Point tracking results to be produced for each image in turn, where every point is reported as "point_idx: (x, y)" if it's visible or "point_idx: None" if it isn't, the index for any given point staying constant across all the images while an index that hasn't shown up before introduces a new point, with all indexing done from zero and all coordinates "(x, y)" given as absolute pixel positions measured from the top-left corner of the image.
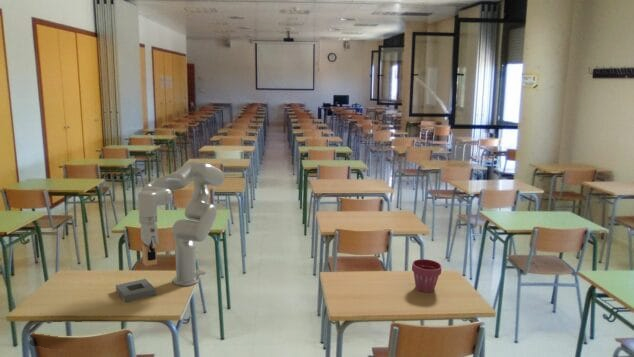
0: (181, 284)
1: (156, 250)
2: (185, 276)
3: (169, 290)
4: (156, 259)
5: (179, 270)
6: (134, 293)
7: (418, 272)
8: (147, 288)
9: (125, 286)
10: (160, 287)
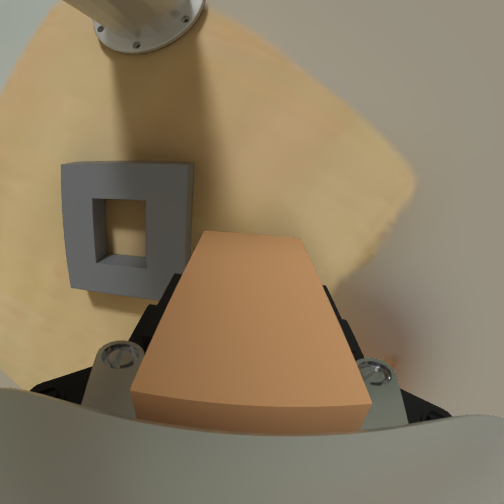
0: (181, 33)
1: (337, 321)
2: (174, 2)
3: (189, 94)
4: (307, 261)
5: (137, 11)
6: (183, 265)
7: None
8: (163, 196)
9: (95, 264)
10: (134, 116)
